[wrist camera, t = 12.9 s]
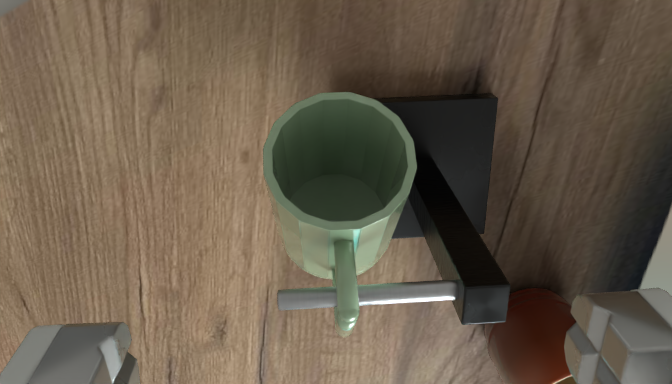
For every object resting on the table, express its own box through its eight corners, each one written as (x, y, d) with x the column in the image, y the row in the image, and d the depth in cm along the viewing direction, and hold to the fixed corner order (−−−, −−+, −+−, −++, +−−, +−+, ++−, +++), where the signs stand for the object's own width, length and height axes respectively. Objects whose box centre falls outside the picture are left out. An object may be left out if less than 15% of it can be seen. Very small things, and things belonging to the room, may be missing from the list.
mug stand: (280, 102, 35) (267, 214, 21) (492, 93, 36) (621, 195, 21) (289, 236, 39) (284, 405, 25) (479, 225, 40) (579, 385, 26)
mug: (458, 296, 43) (503, 395, 33) (566, 258, 42) (643, 350, 32) (494, 399, 48) (542, 510, 38) (591, 367, 47) (664, 473, 37)
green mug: (277, 175, 33) (262, 94, 24) (385, 169, 33) (406, 88, 25) (282, 346, 29) (265, 320, 21) (403, 338, 29) (436, 309, 21)
